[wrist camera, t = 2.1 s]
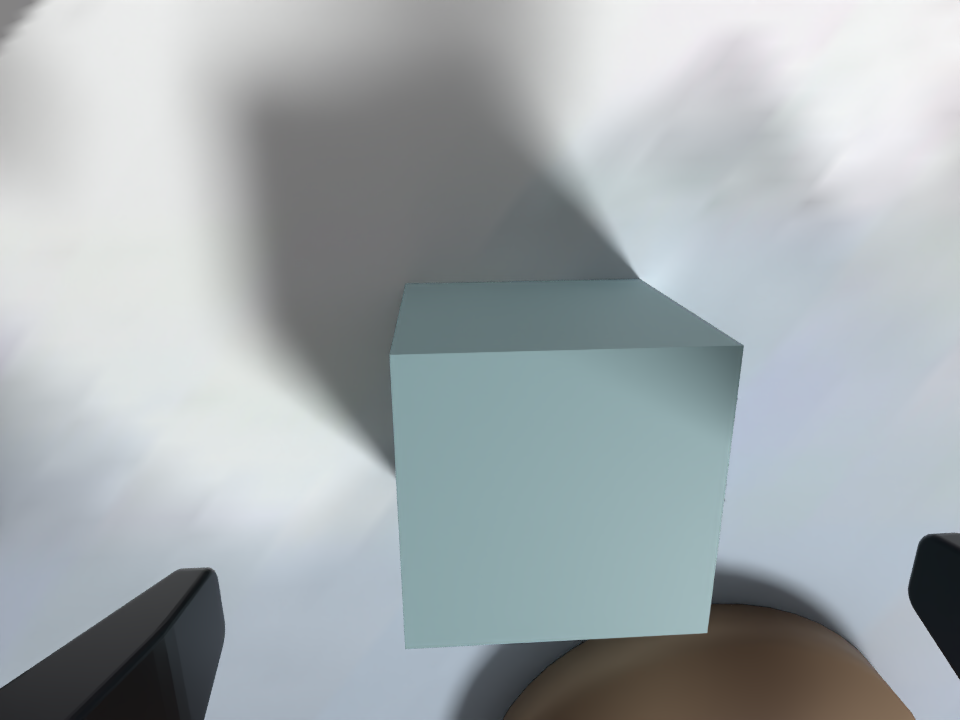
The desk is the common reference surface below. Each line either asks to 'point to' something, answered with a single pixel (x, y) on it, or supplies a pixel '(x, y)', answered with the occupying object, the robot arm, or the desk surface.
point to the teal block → (558, 460)
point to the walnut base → (715, 675)
